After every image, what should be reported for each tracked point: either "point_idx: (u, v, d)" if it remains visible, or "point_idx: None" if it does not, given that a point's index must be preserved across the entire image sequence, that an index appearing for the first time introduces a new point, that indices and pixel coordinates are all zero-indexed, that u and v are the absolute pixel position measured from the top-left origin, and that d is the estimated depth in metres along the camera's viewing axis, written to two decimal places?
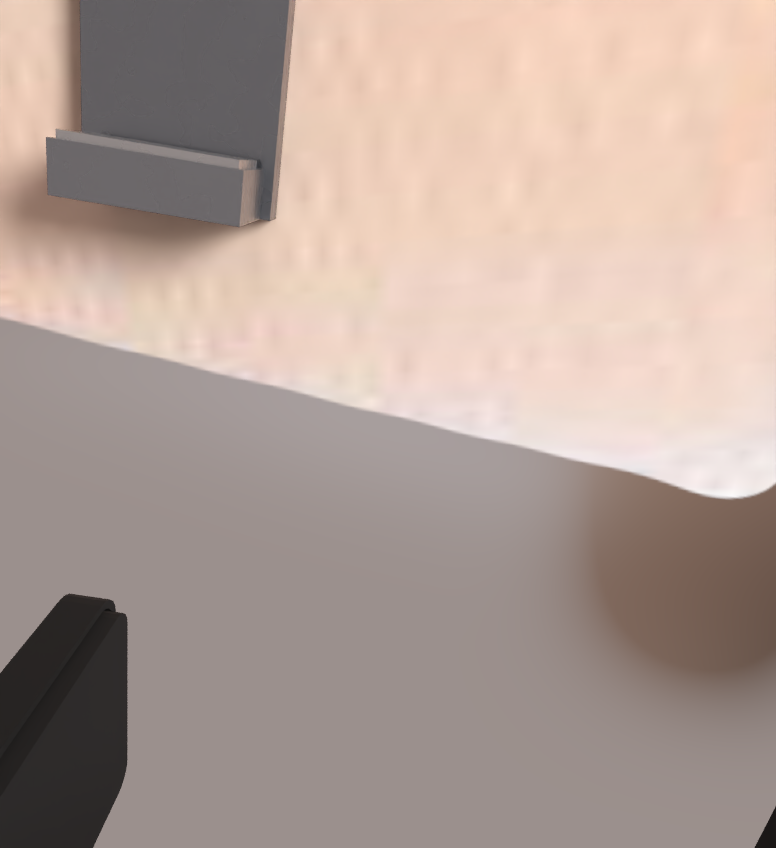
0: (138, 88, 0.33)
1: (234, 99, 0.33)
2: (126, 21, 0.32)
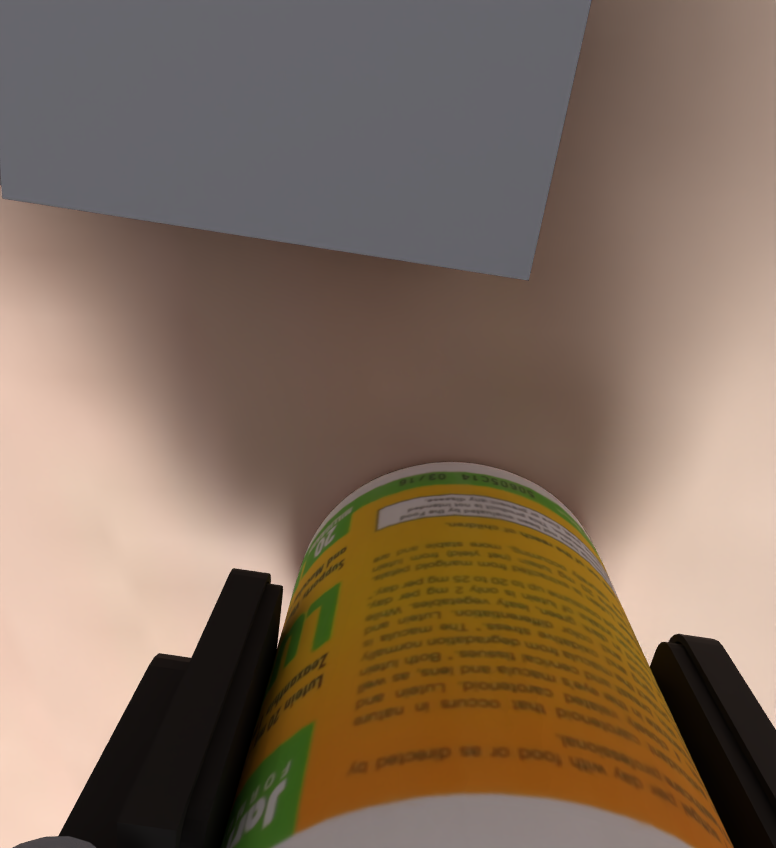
0: None
1: None
2: None
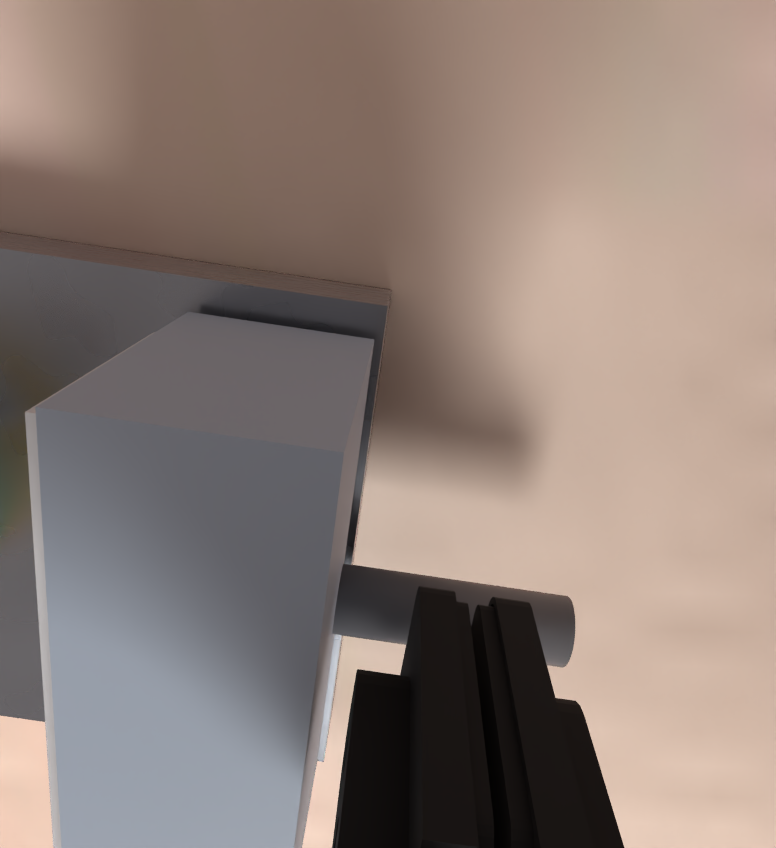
0: None
1: None
2: None
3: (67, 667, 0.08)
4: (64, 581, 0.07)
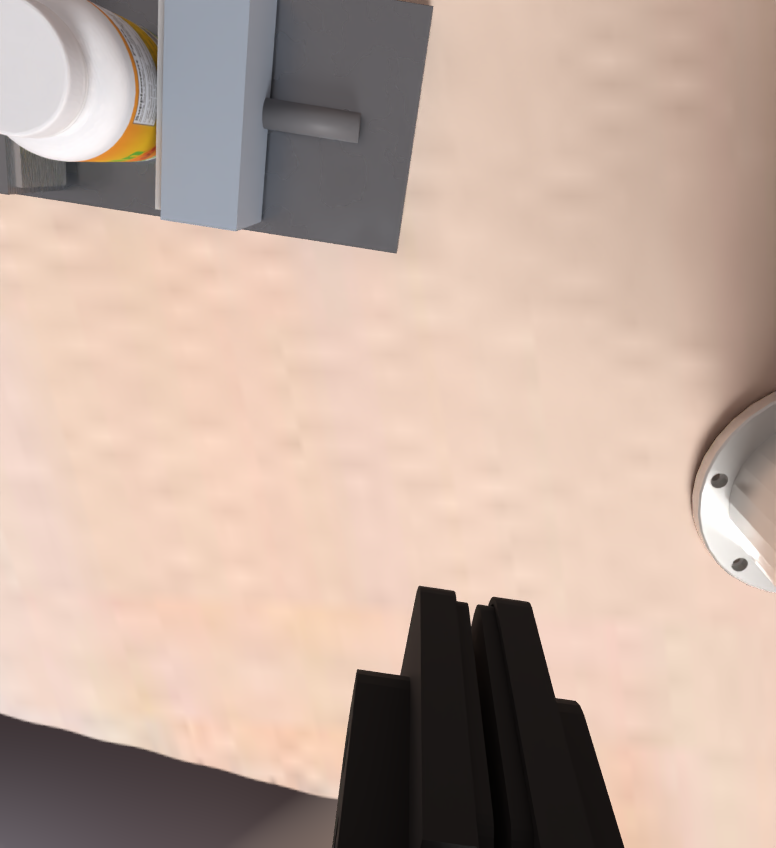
0: None
1: None
2: None
3: (168, 53, 0.24)
4: (169, 15, 0.23)
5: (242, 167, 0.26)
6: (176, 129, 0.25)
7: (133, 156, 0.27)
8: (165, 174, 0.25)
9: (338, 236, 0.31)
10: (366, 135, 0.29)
